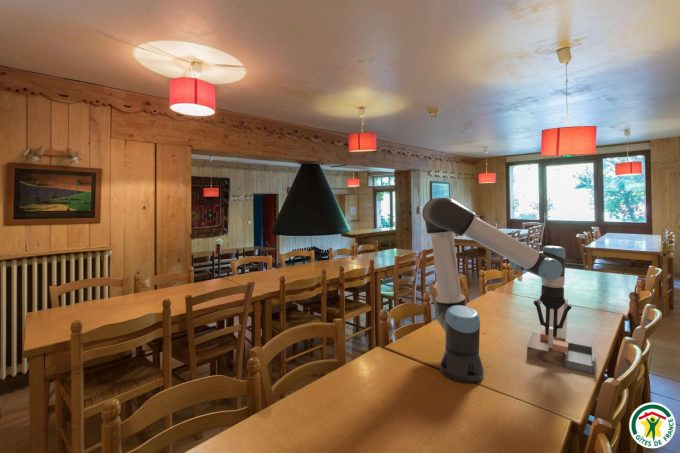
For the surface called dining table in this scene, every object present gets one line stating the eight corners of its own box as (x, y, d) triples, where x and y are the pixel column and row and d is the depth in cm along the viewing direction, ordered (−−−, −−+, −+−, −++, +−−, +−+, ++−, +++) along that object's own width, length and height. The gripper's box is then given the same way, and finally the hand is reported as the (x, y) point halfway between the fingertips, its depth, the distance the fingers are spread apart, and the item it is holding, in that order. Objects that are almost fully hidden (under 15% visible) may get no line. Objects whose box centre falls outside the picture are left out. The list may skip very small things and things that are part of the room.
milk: (566, 341, 151) (568, 292, 149) (555, 342, 149) (558, 293, 148) (554, 335, 157) (556, 289, 155) (543, 337, 155) (546, 290, 153)
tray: (564, 367, 127) (564, 354, 126) (566, 348, 143) (566, 337, 143) (593, 374, 122) (594, 361, 121) (592, 353, 138) (593, 342, 137)
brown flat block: (526, 357, 135) (527, 346, 135) (532, 342, 150) (532, 332, 149) (562, 365, 128) (563, 354, 128) (564, 349, 143) (565, 338, 142)
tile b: (540, 339, 141) (540, 333, 141) (541, 335, 146) (541, 330, 145) (554, 342, 139) (554, 336, 138) (555, 338, 143) (555, 332, 142)
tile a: (552, 350, 131) (552, 343, 131) (553, 345, 135) (553, 339, 135) (567, 353, 129) (567, 347, 128) (568, 348, 133) (568, 342, 132)
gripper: (532, 285, 133) (530, 343, 135) (572, 289, 125) (570, 351, 127) (534, 281, 139) (533, 336, 141) (573, 285, 131) (570, 344, 133)
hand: (550, 343), depth 134 cm, fingers closed
